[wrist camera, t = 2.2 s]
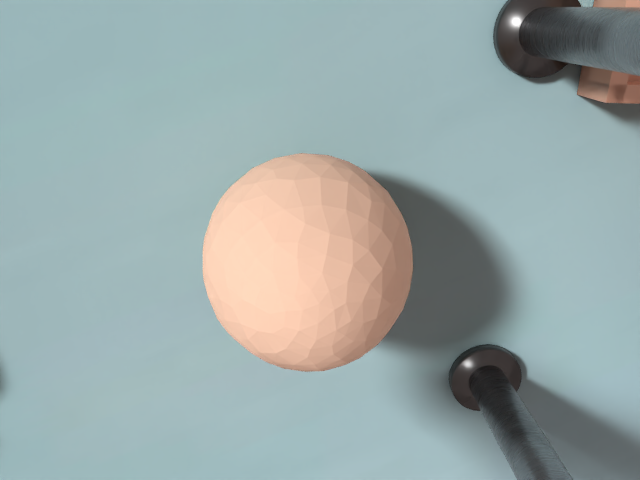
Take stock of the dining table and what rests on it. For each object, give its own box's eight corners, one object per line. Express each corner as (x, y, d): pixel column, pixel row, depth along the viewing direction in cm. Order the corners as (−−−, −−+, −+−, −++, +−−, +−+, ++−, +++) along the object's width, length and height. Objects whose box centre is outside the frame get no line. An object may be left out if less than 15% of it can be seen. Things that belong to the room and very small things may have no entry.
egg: (416, 249, 24) (484, 360, 16) (269, 326, 24) (270, 466, 17) (337, 99, 21) (376, 148, 14) (177, 189, 22) (132, 282, 15)
